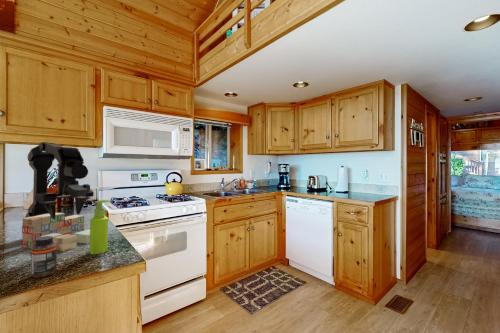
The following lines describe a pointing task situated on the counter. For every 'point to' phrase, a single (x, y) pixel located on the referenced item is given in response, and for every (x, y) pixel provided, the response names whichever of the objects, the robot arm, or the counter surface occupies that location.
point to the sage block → (83, 236)
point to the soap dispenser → (99, 230)
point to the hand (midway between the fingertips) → (66, 216)
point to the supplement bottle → (43, 257)
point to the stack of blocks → (49, 227)
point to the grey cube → (53, 236)
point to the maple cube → (66, 242)
